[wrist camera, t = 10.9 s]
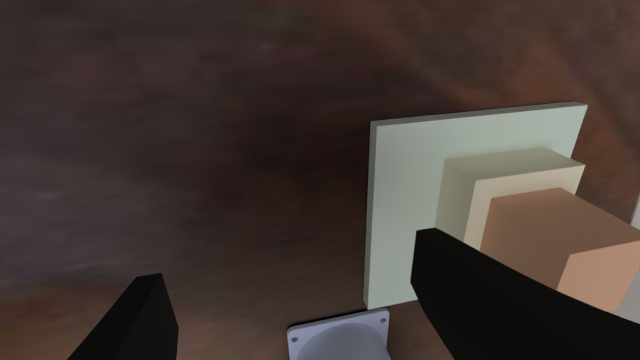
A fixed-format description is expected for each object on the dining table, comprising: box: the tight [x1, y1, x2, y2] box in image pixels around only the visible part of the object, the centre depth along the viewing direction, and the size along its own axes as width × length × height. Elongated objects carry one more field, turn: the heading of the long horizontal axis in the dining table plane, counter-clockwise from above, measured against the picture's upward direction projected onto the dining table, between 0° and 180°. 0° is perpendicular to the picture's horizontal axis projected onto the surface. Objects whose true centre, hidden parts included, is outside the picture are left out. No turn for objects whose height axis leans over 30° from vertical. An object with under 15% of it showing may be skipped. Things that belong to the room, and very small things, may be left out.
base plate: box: [363, 101, 588, 310], centre depth 22 cm, size 14×14×4 cm
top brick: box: [479, 187, 640, 312], centre depth 18 cm, size 4×4×5 cm
